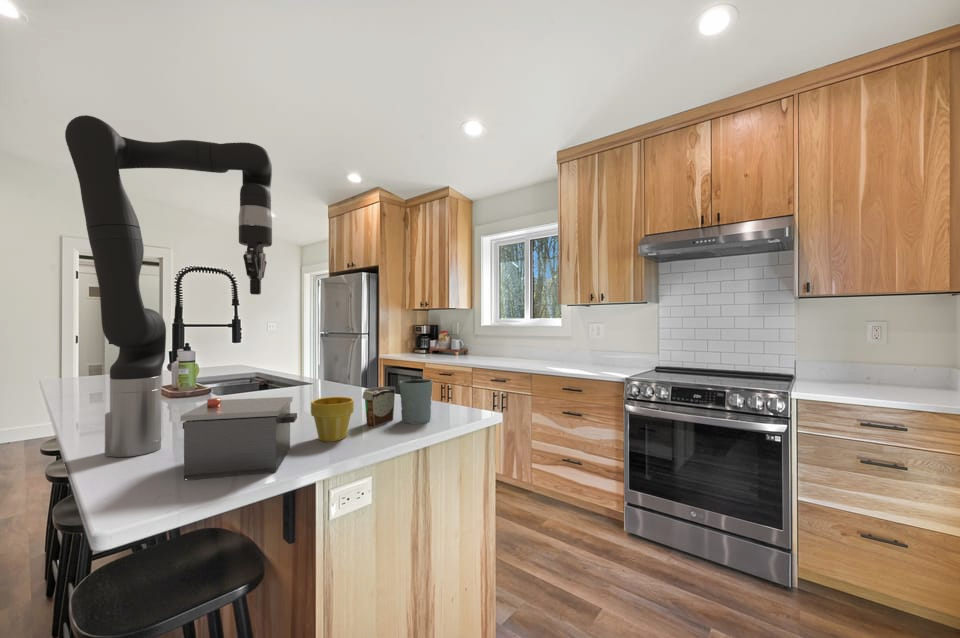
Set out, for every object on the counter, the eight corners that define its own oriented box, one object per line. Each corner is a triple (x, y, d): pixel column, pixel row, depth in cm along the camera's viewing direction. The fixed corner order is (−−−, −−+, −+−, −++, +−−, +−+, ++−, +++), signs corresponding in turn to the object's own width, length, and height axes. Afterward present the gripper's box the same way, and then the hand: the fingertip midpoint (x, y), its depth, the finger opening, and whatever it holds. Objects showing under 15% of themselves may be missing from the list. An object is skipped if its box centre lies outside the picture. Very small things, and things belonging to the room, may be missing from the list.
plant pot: (345, 444, 103) (345, 404, 103) (303, 443, 103) (303, 404, 103) (358, 432, 114) (358, 396, 114) (320, 432, 114) (320, 396, 114)
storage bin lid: (180, 421, 79) (180, 407, 79) (211, 404, 95) (211, 393, 95) (278, 415, 84) (278, 403, 84) (292, 401, 100) (292, 390, 100)
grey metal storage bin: (169, 481, 79) (169, 422, 79) (201, 455, 95) (201, 406, 95) (289, 471, 85) (289, 416, 85) (300, 447, 100) (301, 401, 100)
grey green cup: (405, 425, 121) (405, 384, 121) (394, 418, 130) (394, 379, 130) (438, 421, 126) (438, 381, 126) (425, 415, 135) (425, 377, 135)
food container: (379, 417, 132) (379, 385, 132) (396, 419, 129) (396, 386, 129) (353, 426, 120) (353, 391, 120) (371, 428, 118) (371, 393, 118)
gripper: (246, 231, 113) (246, 295, 113) (231, 219, 100) (230, 292, 100) (277, 232, 115) (276, 296, 115) (265, 221, 102) (265, 292, 102)
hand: (255, 294), depth 108 cm, fingers closed
